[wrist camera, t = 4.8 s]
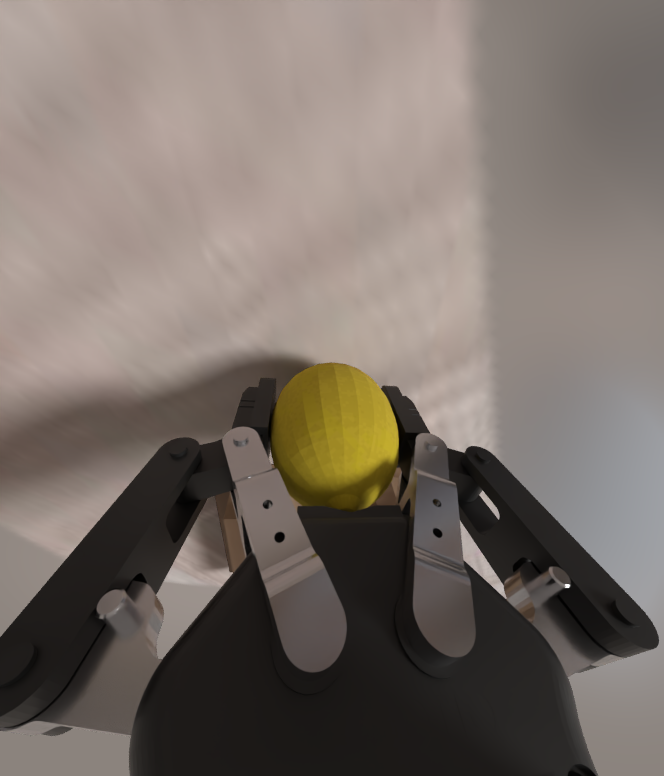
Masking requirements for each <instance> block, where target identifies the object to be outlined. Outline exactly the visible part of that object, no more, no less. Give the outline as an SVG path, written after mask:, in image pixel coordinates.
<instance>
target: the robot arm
mask: <svg viewBox="0 0 664 776" xmlns="http://www.w3.org/2000/svg"><path fill="white" fill-rule="evenodd" d="M381 390H382V391H383V392H384V394H385V395H386V397H387V399H388V401H389V403H390V406H391V408H392V411H393V414H394V416H395V419H396V423H397V428H398V437H399V459H398V465H397V468H400V469H401V473H400V476H399V481H398V489H397V496H396V504H395V505H375V506H372V507H368V508H365V509H361V510H358V511H354V512H348V511H343V510H339V509H335V508H331V507H327V506H298V507H297V511H296V509H295V507H294V504H293V502H292V500H291V498H290V495H289V493H288V491H287V489H286V486H285V484H284V482H283V480H282V477H281V475H280V473H279V471H278V469H277V468H273V467H272V465H271V463H270V461H269V454H270V427H271V419H272V413H273V409H274V406H275V396H276V379H273V378H261V379H260V383H259V387H249V388H248V389H247V390H246V391H245V392H243V394H242V398H241V402H240V404H239V407H238V411H237V414H236V417H235V420H234V423H233V427H232V429H231V430H229V431H228V432H227V433H226V434H225V435H224V436H223V439H221V440H219V441H216V442H213V443H208V444H203V445H199V443H198V442H197V441H196V440H194V439H192V438H177V439H174V440H171V441H169V442H167V443H166V444H164V445H163V446H162V447H161V448H160V449H159V450H158V451H157V452H156V454H155V455H154V456H153V457H152V458H151V460H150V461H149V462H148V463H147V464H146V465H145V467H144V468H143V469H142V470H141V471H140V473H139V474H138V475H137V476H136V477H135V478H134V480H133V481H132V482H131V483H130V484H129V486H128V487H127V488H126V489H125V490H124V491H123V493H122V494H121V495H120V496H119V497H118V499H117V500H116V501H115V502H114V503H113V504H112V506H111V507H110V508H109V509H108V510H107V512H106V513H105V514H104V515H103V516H102V517H101V519H100V520H99V521H98V522H97V523H96V525H95V526H94V527H93V528H92V529H91V530H90V532H89V533H88V534H87V535H86V536H85V538H84V539H83V540H82V541H81V542H80V544H79V545H78V546H77V547H76V548H75V549H74V551H73V552H72V553H71V554H70V555H69V557H68V558H67V559H66V560H65V561H64V562H63V564H62V565H61V566H60V567H59V568H58V570H57V571H56V572H55V573H54V574H53V576H52V577H51V578H50V579H49V580H48V581H47V583H46V584H45V585H44V586H43V587H42V588H41V590H40V591H39V592H38V593H37V594H36V596H35V597H34V598H33V599H32V600H31V601H30V603H29V604H28V605H27V606H26V607H25V609H24V610H23V611H22V612H21V614H20V615H19V616H18V617H17V618H16V619H15V621H14V622H13V623H12V624H11V625H10V626H9V628H8V629H7V630H6V631H5V632H4V633H3V635H2V636H1V637H0V731H6V732H12V733H18V734H24V735H30V736H31V735H38V734H44V735H50V736H55V735H60V734H63V733H65V732H67V731H69V730H71V729H72V728H77V729H83V730H90V731H96V732H102V733H109V734H115V735H121V736H128V737H131V739H130V748H129V770H130V776H598V774H597V772H596V769H595V767H594V764H593V762H592V759H591V756H590V754H589V751H588V749H587V745H586V742H585V739H584V736H583V733H582V729H581V726H580V722H579V719H578V714H577V709H576V704H575V700H574V696H573V691H572V688H571V685H570V682H569V679H568V677H569V676H571V675H572V674H574V673H579V672H583V671H587V670H590V669H593V668H596V667H599V666H602V665H605V664H608V663H611V662H614V661H617V660H621V659H624V658H627V657H630V656H633V655H636V654H639V653H642V652H645V651H648V650H651V649H654V648H656V647H657V646H658V643H659V637H658V634H657V631H656V629H655V627H654V625H653V623H652V622H651V620H650V619H649V618H648V616H647V615H646V613H645V612H644V611H643V610H642V609H641V608H640V607H639V606H638V605H637V604H636V602H635V601H634V600H633V599H632V598H631V597H630V596H629V595H628V594H627V593H626V592H625V591H624V590H623V589H622V588H621V587H620V586H619V585H618V584H617V583H616V582H615V581H614V580H613V579H612V578H611V577H610V575H609V574H608V573H607V572H606V571H605V570H604V569H603V568H602V567H601V566H600V565H599V564H598V563H597V562H596V561H595V560H594V559H593V558H592V557H591V556H590V555H589V554H588V553H587V552H586V550H584V548H583V547H582V546H581V545H580V544H579V543H578V542H577V541H576V540H575V539H574V538H573V537H572V536H571V535H570V534H569V533H568V532H567V531H566V530H565V529H564V528H563V527H562V526H561V525H560V523H559V522H558V521H557V520H556V519H555V518H554V517H553V516H552V515H551V514H550V513H549V512H548V511H547V510H546V509H545V508H544V507H543V506H542V505H541V504H540V503H539V502H538V501H537V500H536V499H535V498H534V497H533V495H531V493H530V492H529V491H528V490H527V489H526V488H525V487H524V486H523V485H522V484H521V483H520V482H519V481H518V480H517V479H516V478H515V477H514V476H513V475H512V474H511V473H510V472H509V470H508V469H507V468H506V467H505V466H504V465H503V464H502V463H501V462H500V461H499V460H498V459H497V458H496V457H495V456H494V455H493V454H492V453H490V452H489V451H487V450H486V449H483V448H481V447H477V446H471V447H468V448H467V449H466V451H465V453H463V452H459V451H456V450H452V449H449V448H447V446H446V444H445V443H444V441H443V440H441V439H440V438H439V437H437V436H435V435H433V434H430V432H429V430H428V429H427V427H426V425H425V423H424V421H423V420H422V418H421V416H420V414H419V412H418V411H417V409H416V407H415V405H414V403H413V402H412V401H411V400H410V399H409V398H408V397H406V396H402V394H401V392H400V390H399V388H398V387H397V386H382V388H381ZM482 490H483V491H484V492H485V494H486V495H487V496H488V497H489V499H490V500H491V501H492V502H493V504H494V505H495V506H496V507H497V509H498V511H499V514H500V519H499V520H498V519H497V517H496V516H495V515H494V513H493V512H492V511H491V510H490V508H489V507H488V506H487V505H486V503H485V502H484V501H483V499H482V498H481V497H480V496H479V494H480V493H481V492H482ZM229 491H230V494H231V498H232V502H233V506H234V510H235V514H236V518H237V522H238V526H239V530H240V536H241V540H242V545H243V549H244V553H245V557H246V558H245V559H244V561H243V562H242V563H241V564H240V565H239V567H238V568H237V569H236V570H235V572H234V573H233V574H232V575H231V576H230V578H229V579H228V580H227V581H226V582H225V584H224V585H223V586H222V587H221V589H220V590H219V591H218V592H217V593H216V595H215V596H214V597H213V599H212V600H211V601H210V602H209V603H208V604H207V606H206V607H205V608H204V609H203V610H202V612H201V613H200V614H199V615H198V617H197V618H196V619H195V620H194V621H193V623H192V624H191V625H190V626H189V627H188V629H187V630H186V631H185V632H184V633H183V635H182V636H181V637H180V638H179V640H178V641H177V642H176V643H175V644H174V646H173V647H172V648H171V649H170V650H169V652H168V653H167V654H166V656H165V657H164V658H163V660H162V659H158V656H157V649H156V645H157V638H158V634H159V632H160V629H161V626H162V623H163V616H164V610H163V606H162V604H161V602H160V601H159V599H158V598H157V596H156V594H157V592H158V590H159V589H160V587H161V585H162V583H163V581H164V579H165V577H166V575H167V574H168V572H169V570H170V568H171V566H172V564H173V562H174V560H175V558H176V557H177V555H178V553H179V551H180V549H181V547H182V545H183V543H184V542H185V540H186V538H187V536H188V534H189V532H190V530H191V528H192V527H193V525H194V523H195V521H196V519H197V517H198V515H199V513H200V511H201V510H202V508H203V506H204V504H205V502H206V500H207V498H209V497H212V496H215V495H219V494H222V493H226V492H229ZM460 521H461V522H462V524H463V525H464V527H465V528H466V530H467V531H468V533H469V534H470V536H471V537H472V539H473V540H474V542H475V543H476V545H477V546H478V548H479V549H480V551H481V552H482V554H483V555H484V556H485V558H486V559H487V561H488V562H489V564H490V565H491V567H492V568H493V570H494V571H495V573H496V574H497V576H498V577H499V579H500V580H501V582H502V583H503V585H504V591H505V594H506V597H507V599H505V598H504V597H503V596H502V595H501V594H499V593H498V592H497V591H496V590H495V589H494V588H493V587H492V586H491V585H490V584H489V583H488V582H487V581H485V580H484V579H483V578H482V577H481V576H480V575H479V574H478V573H477V572H476V571H475V570H474V569H473V568H471V567H470V566H469V565H468V564H467V563H466V562H465V561H464V560H463V551H462V540H461V529H460Z"/></svg>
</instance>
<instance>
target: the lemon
mask: <svg viewBox="0 0 664 776" xmlns="http://www.w3.org/2000/svg"><path fill="white" fill-rule="evenodd" d="M270 448H271V453H272V458H273V463H274V467H275V468H277V469H278V471H279V473H280V475H281V477H282V480H283V482H284V484H285V486H286V489H287V491H288V493H289V495H290V496H291V497H292V498H293V499H294V500H295V501H297V502H298V503H299V504H300V505H302V506H327V507H331V508H335V509H339V510H343V511H348V512H354V511H358V510H361V509H365V508H367V507H369V506H370V505H372V504H373V503H374V502H375V501H377V500H378V499H379V498H380V497H381V496H382V495H383V493H384V492H385V491H386V489H387V488H388V487H389V485H390V483H391V482H392V479H393V477H394V474H395V471H396V468H397V465H398V459H399V437H398V428H397V423H396V419H395V416H394V414H393V411H392V408H391V406H390V403H389V401H388V399H387V397H386V395H385V394H384V392H383V391H382V390H381V389H380V388H379V386H378V385H377V384H376V383H375V381H374V380H373V379H372V378H371V377H369V376H368V375H366V374H365V373H363V372H362V371H361V370H359V369H357V368H355V367H352V366H349V365H346V364H339V363H323V364H318V365H315V366H312V367H309V368H306V369H305V370H303V371H302V372H300V373H298V374H297V375H295V376H294V377H293V378H292V379H291V380H290V381H289V383H288V384H287V385H286V386H285V387H284V388H283V390H282V392H281V394H280V396H279V398H278V400H277V402H276V404H275V406H274V409H273V413H272V419H271V427H270Z"/></svg>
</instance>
